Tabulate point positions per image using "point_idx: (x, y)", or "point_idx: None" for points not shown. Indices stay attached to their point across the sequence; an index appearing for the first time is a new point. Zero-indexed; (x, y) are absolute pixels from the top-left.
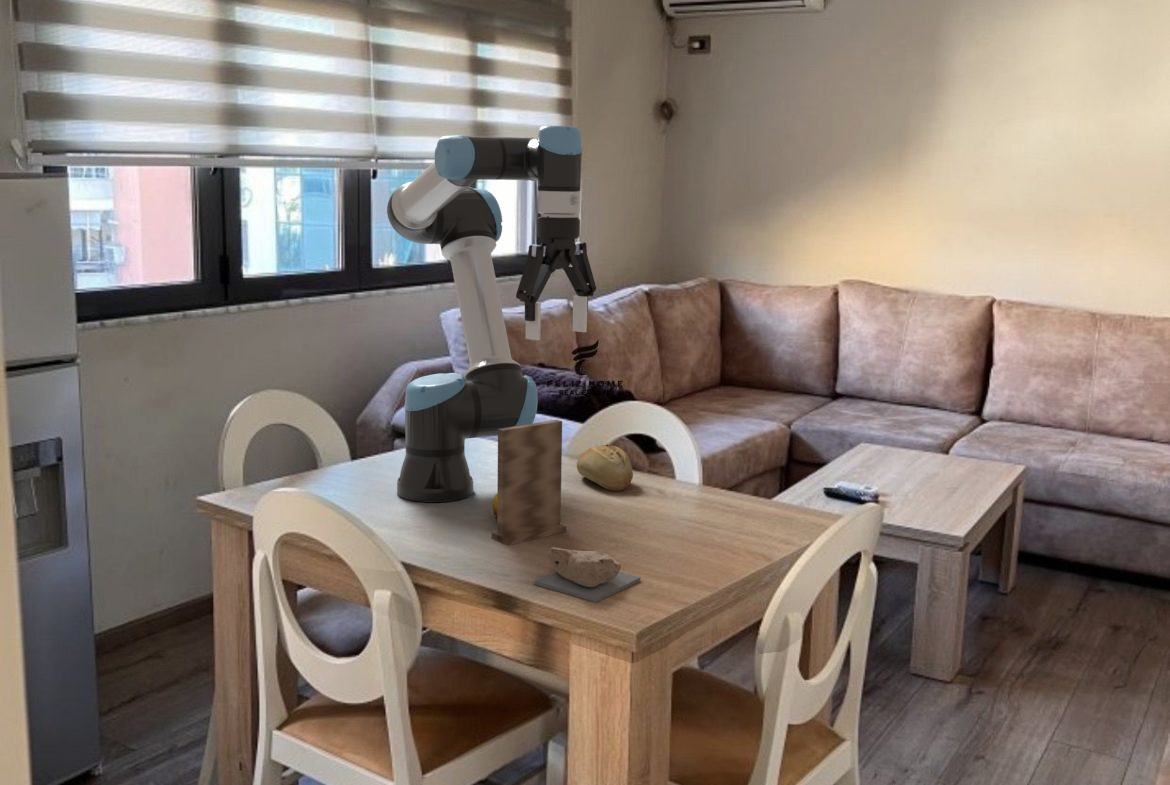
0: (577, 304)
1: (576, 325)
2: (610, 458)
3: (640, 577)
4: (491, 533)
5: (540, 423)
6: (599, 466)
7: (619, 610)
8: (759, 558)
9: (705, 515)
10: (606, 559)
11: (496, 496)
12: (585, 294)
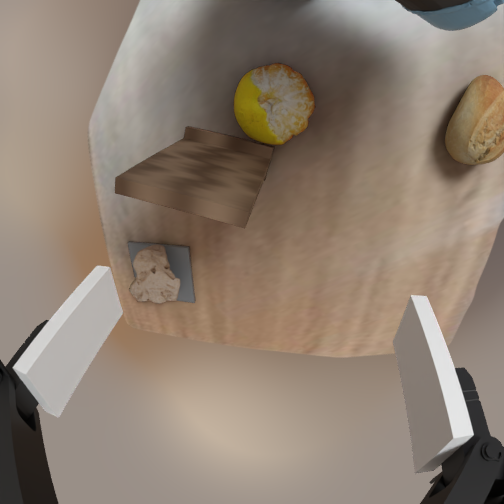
0: (430, 414)
1: (410, 330)
2: (473, 144)
3: (194, 302)
4: (186, 127)
5: (199, 207)
6: (457, 130)
7: (142, 309)
8: (306, 346)
9: (406, 272)
10: (154, 302)
11: (242, 81)
12: (440, 475)
